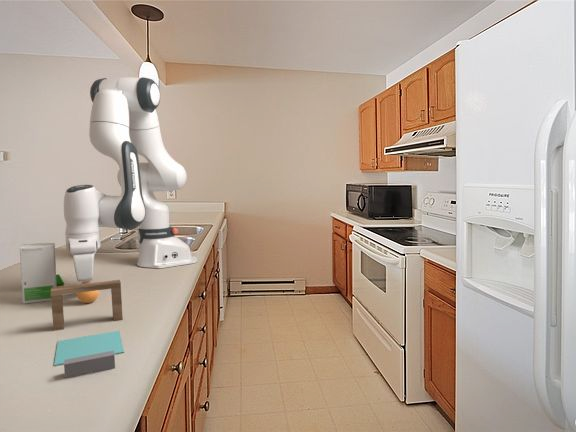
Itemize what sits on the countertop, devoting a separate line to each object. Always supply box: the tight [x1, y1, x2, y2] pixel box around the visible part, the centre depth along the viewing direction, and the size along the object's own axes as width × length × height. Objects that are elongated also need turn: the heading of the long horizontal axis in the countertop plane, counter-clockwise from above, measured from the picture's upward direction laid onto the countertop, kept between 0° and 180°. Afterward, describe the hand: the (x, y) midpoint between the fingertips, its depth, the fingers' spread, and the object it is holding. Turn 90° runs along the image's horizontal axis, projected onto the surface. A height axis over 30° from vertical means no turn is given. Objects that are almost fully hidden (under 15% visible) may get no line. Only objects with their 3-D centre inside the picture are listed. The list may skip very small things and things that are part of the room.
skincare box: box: [19, 242, 57, 305], centre depth 114 cm, size 8×7×16 cm
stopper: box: [63, 351, 116, 379], centre depth 73 cm, size 8×2×2 cm, turn 117°
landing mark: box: [53, 330, 125, 367], centre depth 83 cm, size 12×12×1 cm
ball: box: [76, 282, 100, 304], centre depth 111 cm, size 6×6×6 cm
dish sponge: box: [56, 273, 65, 287], centre depth 127 cm, size 7×14×2 cm, turn 35°
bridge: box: [50, 279, 124, 331], centre depth 95 cm, size 3×14×9 cm, turn 117°
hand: (86, 289), depth 117 cm, fingers closed
